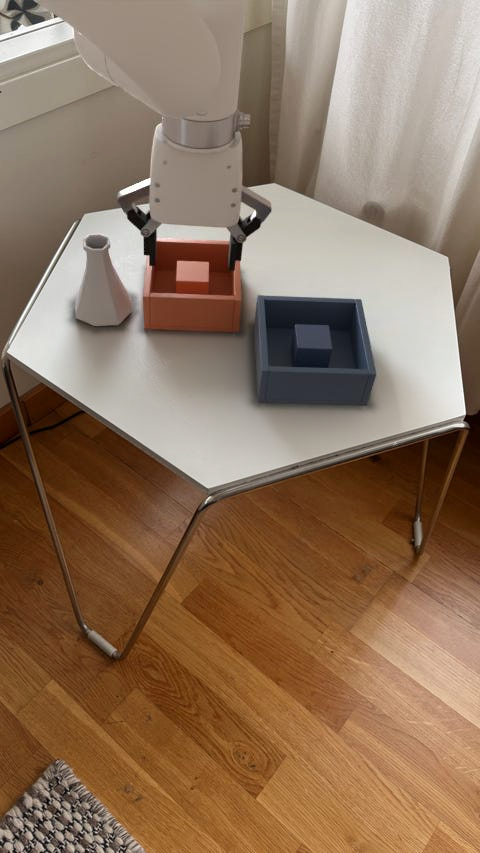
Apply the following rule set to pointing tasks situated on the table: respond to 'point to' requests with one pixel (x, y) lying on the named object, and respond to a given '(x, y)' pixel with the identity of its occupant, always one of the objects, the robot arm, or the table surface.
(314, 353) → the slate block
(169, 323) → the terracotta bin
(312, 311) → the slate bin
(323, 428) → the table surface
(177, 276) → the terracotta block
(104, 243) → the flask
